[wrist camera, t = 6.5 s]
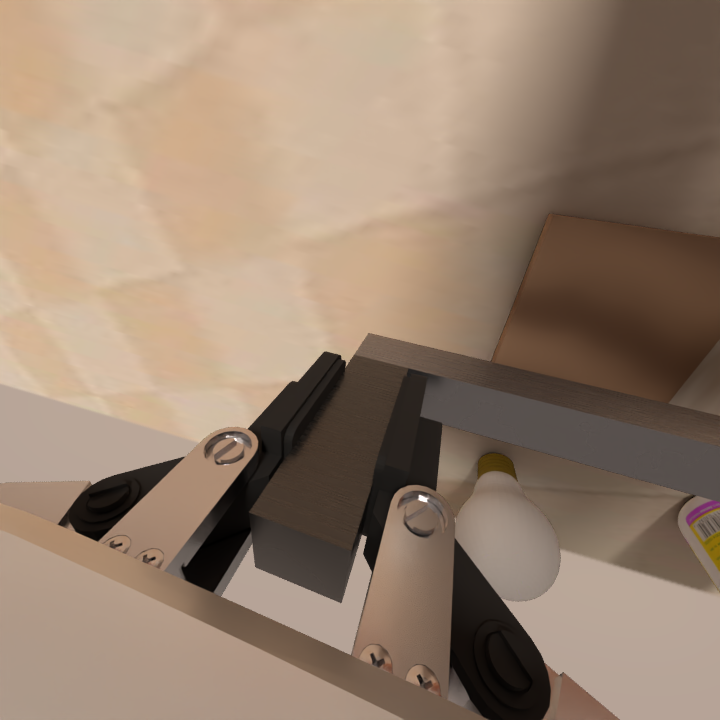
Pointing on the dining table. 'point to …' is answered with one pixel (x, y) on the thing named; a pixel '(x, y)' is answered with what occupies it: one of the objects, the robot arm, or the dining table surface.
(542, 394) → the dark grey bent bar
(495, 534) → the light bulb
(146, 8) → the dining table surface
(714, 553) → the supplement bottle
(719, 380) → the stand
